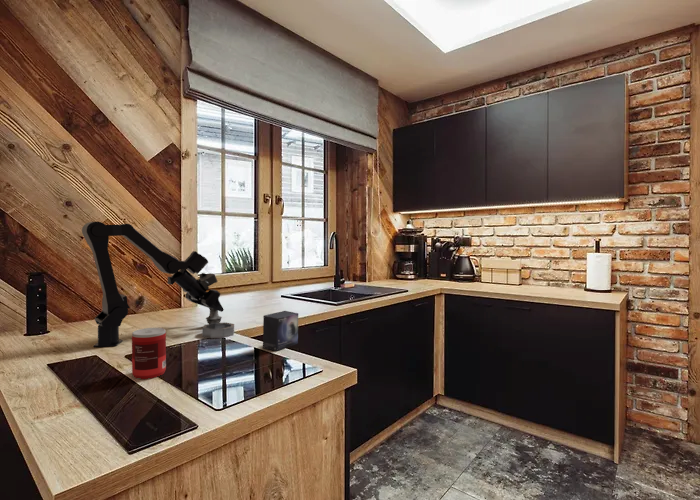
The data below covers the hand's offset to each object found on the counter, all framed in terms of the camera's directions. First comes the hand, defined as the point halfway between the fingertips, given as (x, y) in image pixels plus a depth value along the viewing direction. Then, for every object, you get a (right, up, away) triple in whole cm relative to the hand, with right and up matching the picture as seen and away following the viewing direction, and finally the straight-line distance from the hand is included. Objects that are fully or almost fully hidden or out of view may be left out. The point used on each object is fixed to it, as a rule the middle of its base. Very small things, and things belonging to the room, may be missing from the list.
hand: (217, 309), depth 149 cm
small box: (+29, -8, -25) cm, 40 cm away
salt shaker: (-1, -7, -1) cm, 7 cm away
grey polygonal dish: (+5, -7, -12) cm, 14 cm away
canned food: (+1, -9, -52) cm, 52 cm away
